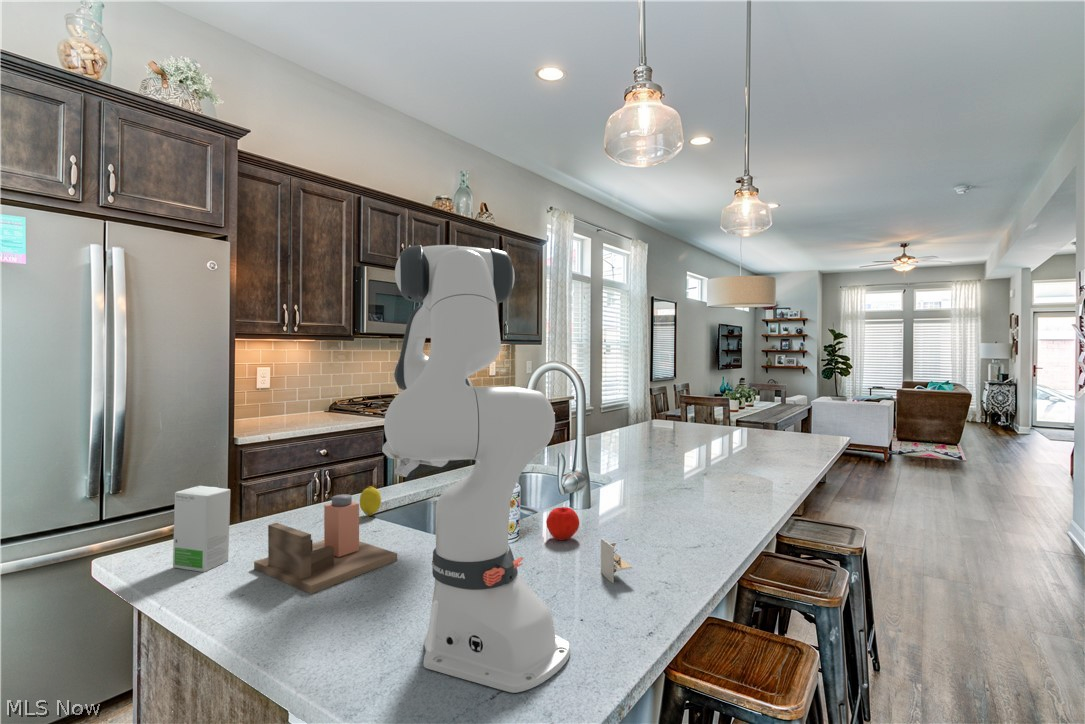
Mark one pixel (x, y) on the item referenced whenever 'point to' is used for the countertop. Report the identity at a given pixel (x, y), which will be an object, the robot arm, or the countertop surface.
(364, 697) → the countertop surface
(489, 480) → the robot arm
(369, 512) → the lemon
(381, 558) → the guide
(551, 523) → the apple
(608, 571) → the architectural model
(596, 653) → the countertop surface
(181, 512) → the skincare box
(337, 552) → the pink square bottle
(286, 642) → the countertop surface
